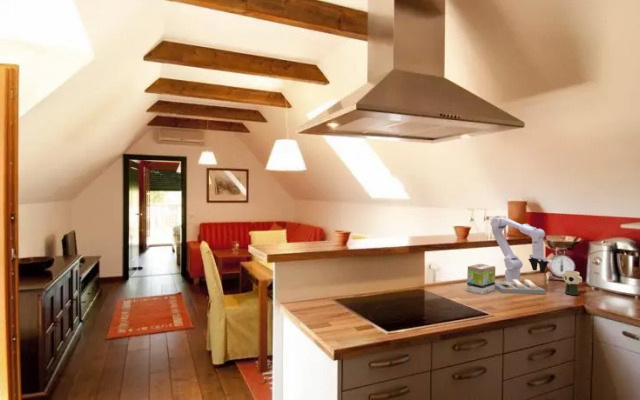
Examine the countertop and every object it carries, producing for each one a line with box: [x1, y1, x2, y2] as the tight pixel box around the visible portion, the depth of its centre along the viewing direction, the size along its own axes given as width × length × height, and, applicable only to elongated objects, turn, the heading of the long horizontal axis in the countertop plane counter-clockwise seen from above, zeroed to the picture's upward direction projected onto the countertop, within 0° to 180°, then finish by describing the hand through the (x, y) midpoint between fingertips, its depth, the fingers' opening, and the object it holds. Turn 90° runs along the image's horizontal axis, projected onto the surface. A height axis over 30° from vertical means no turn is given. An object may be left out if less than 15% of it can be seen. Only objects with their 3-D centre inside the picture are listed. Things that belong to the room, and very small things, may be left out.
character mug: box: [561, 270, 583, 296], centre depth 202 cm, size 11×7×13 cm, turn 19°
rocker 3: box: [523, 279, 537, 288], centre depth 209 cm, size 8×3×2 cm, turn 176°
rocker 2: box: [512, 279, 524, 288], centre depth 210 cm, size 8×3×2 cm, turn 176°
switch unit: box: [495, 282, 546, 295], centre depth 210 cm, size 14×24×3 cm, turn 86°
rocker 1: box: [499, 281, 511, 285], centre depth 210 cm, size 8×3×2 cm, turn 176°
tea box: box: [466, 263, 496, 295], centre depth 209 cm, size 15×10×15 cm
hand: (538, 271), depth 214 cm, fingers open, 7 cm apart
